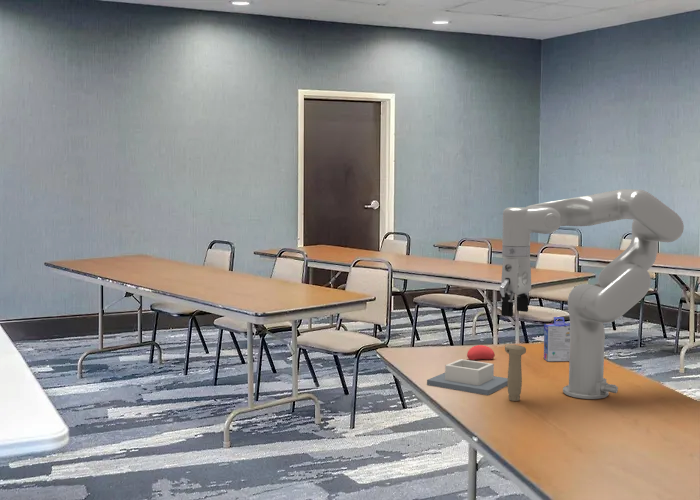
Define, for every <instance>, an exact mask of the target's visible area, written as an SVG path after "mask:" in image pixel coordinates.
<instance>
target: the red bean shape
mask: <svg viewBox="0 0 700 500" xmlns="http://www.w3.org/2000/svg"><path fill="white" fill-rule="evenodd" d="M466 357H467V360H470V361H479V360H483V361H484V360H485V361H487V360H488V361H489V360H493V359H494V358H495V352H494V350H493V349H492V348H491V347H489V346H488V345H483V344H478V345H474V346H472V347H470V348H469V349H468V350H467V354H466Z"/></svg>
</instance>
